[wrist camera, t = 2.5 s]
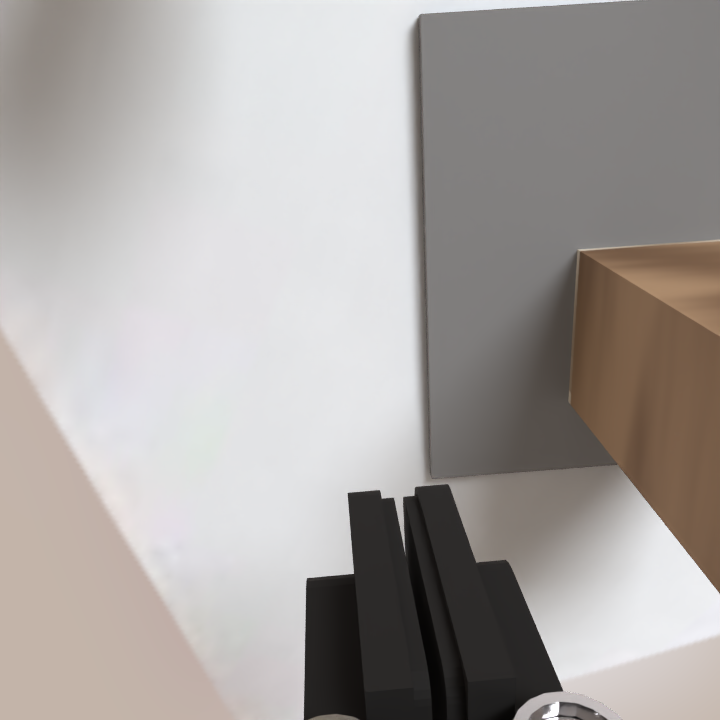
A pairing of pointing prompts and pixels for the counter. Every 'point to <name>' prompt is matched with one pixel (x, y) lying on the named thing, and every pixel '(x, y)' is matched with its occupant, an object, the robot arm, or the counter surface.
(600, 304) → the block
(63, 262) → the counter surface
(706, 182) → the mat
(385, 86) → the counter surface
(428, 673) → the robot arm
